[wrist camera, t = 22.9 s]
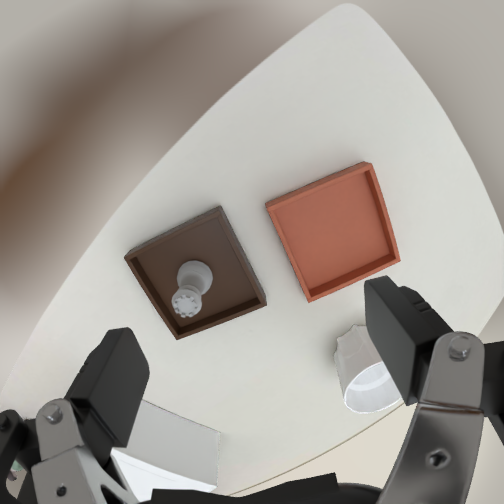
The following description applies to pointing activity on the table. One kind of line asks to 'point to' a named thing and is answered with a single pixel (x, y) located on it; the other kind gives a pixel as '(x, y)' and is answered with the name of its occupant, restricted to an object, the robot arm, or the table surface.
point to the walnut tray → (211, 254)
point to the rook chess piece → (191, 287)
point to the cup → (363, 373)
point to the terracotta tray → (335, 230)
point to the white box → (168, 453)
